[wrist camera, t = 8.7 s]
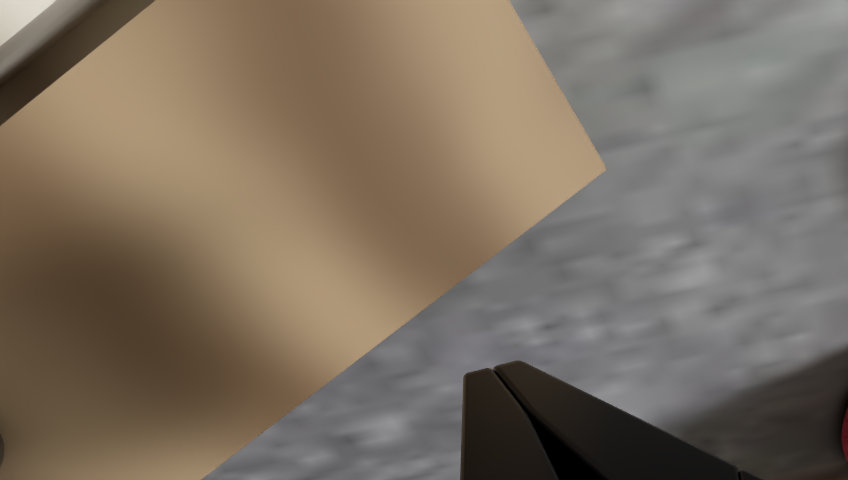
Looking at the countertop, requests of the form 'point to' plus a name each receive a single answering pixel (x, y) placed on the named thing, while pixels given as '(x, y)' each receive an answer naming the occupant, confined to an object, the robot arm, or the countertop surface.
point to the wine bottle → (845, 435)
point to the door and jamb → (245, 207)
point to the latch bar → (1, 450)
